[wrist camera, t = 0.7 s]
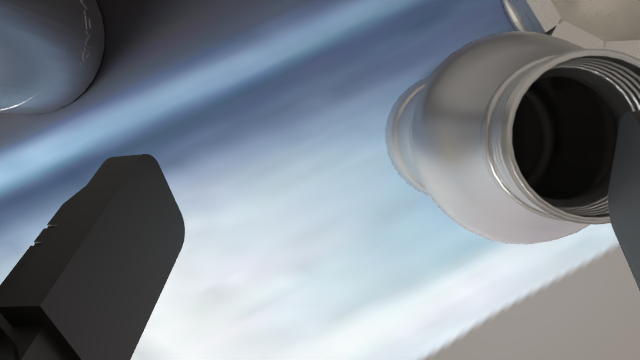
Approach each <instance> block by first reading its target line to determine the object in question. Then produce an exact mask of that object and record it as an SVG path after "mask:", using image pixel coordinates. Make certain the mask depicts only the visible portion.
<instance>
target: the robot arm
mask: <svg viewBox="0 0 640 360" xmlns="http://www.w3.org/2000/svg"><path fill="white" fill-rule="evenodd" d="M104 34H105V32H104V26H103V20H102V15H101V13H100V10H99V7H98V5H97V2H96V0H0V112H3V113H17V114H44V113H48V112H51V111H55V110H58V109H60V108H62V107H64V106H66V105H68V104H70V103H72V102H73V101H74V100H75V99H76V98H78V97H79V96H80V95H81V94H82V93H84V91H85V90H86V89H87V87H88V86H89V85H90V83H91V82H92V81H93V79H94V77H95V75H96V73H97V71H98V69H99V67H100V64H101V60H102V55H103V51H104ZM608 209H609V216H610V221H611V224H612V227H613V230H614V232H615V234H616V237H617V239H618V241H619V244H620V246H621V248H622V251H623V253H624V255H625V257H626V260H627V262H628V264H629V267H630V269H631V271H632V274H633V276H634V278H635V281H636V283H637V285H638V288H639V290H640V111H632V112H626V113H624V115H623V116H622V118H621V120H620V124H619V129H618V135H617V141H616V147H615V153H614V159H613V165H612V171H611V177H610V183H609V189H608ZM47 225H48V228H46V229H43V231H42V232H41V233H40V235H39V236H38V237H37V238H36V240H35V241H34V243H35V245H34V246H30V247H29V249H28V250H27V251H26V253H25V254H24V255H23V257H22V258H21V259H20V260H19V262H18V263H17V264H16V266H15V267H14V268H13V269H12V271H11V272H10V273H9V275H8V276H7V277H6V279H5V280H4V281H3V282H2V284H1V285H0V360H130V359H131V357H132V355H133V353H134V350H135V348H136V346H137V344H138V342H139V340H140V337H141V335H142V333H143V331H144V329H145V327H146V324H147V322H148V320H149V318H150V316H151V314H152V311H153V309H154V307H155V305H156V303H157V301H158V298H159V296H160V294H161V292H162V290H163V288H164V285H165V283H166V281H167V279H168V277H169V275H170V272H171V270H172V268H173V266H174V264H175V262H176V259H177V257H178V255H179V253H180V251H181V249H182V246H183V242H184V236H185V227H184V220H183V217H182V214H181V212H180V210H179V207H178V205H177V203H176V201H175V199H174V197H173V194H172V192H171V190H170V188H169V186H168V183H167V181H166V179H165V177H164V175H163V172H162V170H161V168H160V166H159V164H158V162H157V161H156V159H155V158H154V157H153V156H151V155H149V154H142V155H131V156H120V157H111V158H108V159H107V160H106V161H105V162H104V163H103V164H102V165H101V167H100V168H99V169H98V171H97V172H96V173H95V175H94V176H93V177H92V179H91V180H90V181H89V183H88V184H87V185H86V186H85V187H84V188H83V189H81V190H80V191H79V192H78V193H76V194H75V195H74V196H73V197H71V198H70V199H69V200H67V201H66V202H65V203H64V204H63V205H62V206H61V207H60V209H59V210H58V211H57V213H56V214H55V215H54V216H53V218H52V219H51V220H50V222H49V223H48V224H47Z"/></svg>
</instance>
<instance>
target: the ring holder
mask: <svg viewBox="0 0 640 360" xmlns="http://www.w3.org/2000/svg"><path fill="white" fill-rule="evenodd" d="M501 2H502V5H503V8H504V10H505V13H506V15H507V17H508V19H509V21H510V23H511V25H512V26H513V28H514V29H515V30H516V31H524V32H537V33H541V34H546V35H550V36H555V37H558V38H561V39H564V40H566V41H569V42H571V43H573V44H575V45H578V46H580V47H582V48H584V49H609V50H614V51H618V52H623V53H626V54H628V55H631V56H633V57H635V58H638V59H640V0H501Z"/></svg>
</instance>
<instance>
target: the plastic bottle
mask: <svg viewBox="0 0 640 360" xmlns="http://www.w3.org/2000/svg"><path fill="white" fill-rule="evenodd" d="M632 111H640V59H638V58H635V57H633V56H631V55H628V54H626V53H623V52H618V51H614V50H609V49H584V48H582V47H580V46H578V45H575V44H573V43H571V42H569V41H566V40H564V39H561V38H558V37H555V36H550V35H546V34H541V33H537V32H524V31H509V32H504V33H498V34H492V35H488V36H486V37H483V38H480V39H478V40H475V41H473V42H470V43H468V44H467V45H465V46H464V47H462V48H460V49H459V50H457V51H456V52H454V53H453V54H451V55H450V56H449V57H448V58H447V59H446V60H445V61H444V62H443V63H442V64H441V65H440V66H439V67H438V68H437V69H436V70H435V71H434V73H433V74H432V76H431V77H429V78H426V79H424V80H421V81H419V82H417V83H415V84H414V85H412V86H411V87H409V88H408V89H407V90H406V91H405V92H404V93H403V94H402V95H401V96H400V97H399V98H398V100H397V101H396V102H395V104H394V105H393V107H392V110H391V112H390V114H389V117H388V120H387V125H386V146H387V151H388V155H389V157H390V160H391V162H392V165H393V166H394V168H395V169H396V171H397V172H398V174H399V175H400V176H401V177H402V178H403V179H404V180H405V181H406V182H407V183H408V184H409V185H410V186H412V187H413V188H415V189H416V190H417V191H419V192H422V193H424V194H426V195H428V196H431V198H432V199H433V201H434V202H435V203H436V204H437V205H438V207H439V208H440V209H441V210H442V211H443V212H444V213H445V214H446V215H447V216H448V217H449V218H451V219H452V220H453V221H455V222H456V223H458V224H459V225H461V226H462V227H463V228H465V229H466V230H468V231H470V232H473V233H475V234H477V235H479V236H482V237H484V238H486V239H490V240H495V241H499V242H503V243H510V244H533V243H540V242H547V241H552V240H556V239H559V238H562V237H565V236H568V235H571V234H574V233H576V232H578V231H580V230H582V229H583V228H585V227H587V226H589V225H590V224H605V223H611V221H610V216H609V209H608V189H609V183H610V177H611V171H612V165H613V159H614V153H615V147H616V141H617V135H618V129H619V124H620V120H621V118H622V116H623V115H624V113H626V112H632Z"/></svg>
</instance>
